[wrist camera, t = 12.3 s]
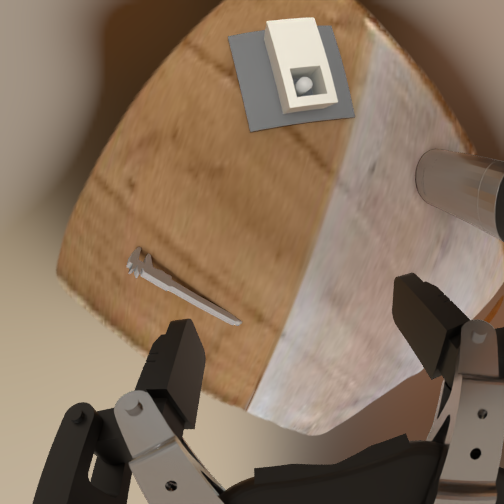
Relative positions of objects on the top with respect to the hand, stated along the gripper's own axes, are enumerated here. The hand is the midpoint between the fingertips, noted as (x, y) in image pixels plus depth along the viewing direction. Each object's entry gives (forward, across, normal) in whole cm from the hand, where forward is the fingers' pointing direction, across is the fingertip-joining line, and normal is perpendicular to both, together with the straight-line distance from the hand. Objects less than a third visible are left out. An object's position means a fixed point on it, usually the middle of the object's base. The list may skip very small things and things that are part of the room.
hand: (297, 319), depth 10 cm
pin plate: (+28, -7, -15) cm, 33 cm away
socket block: (+27, -7, -15) cm, 32 cm away
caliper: (+29, +14, +12) cm, 34 cm away
